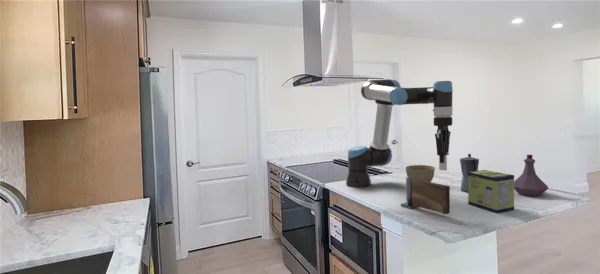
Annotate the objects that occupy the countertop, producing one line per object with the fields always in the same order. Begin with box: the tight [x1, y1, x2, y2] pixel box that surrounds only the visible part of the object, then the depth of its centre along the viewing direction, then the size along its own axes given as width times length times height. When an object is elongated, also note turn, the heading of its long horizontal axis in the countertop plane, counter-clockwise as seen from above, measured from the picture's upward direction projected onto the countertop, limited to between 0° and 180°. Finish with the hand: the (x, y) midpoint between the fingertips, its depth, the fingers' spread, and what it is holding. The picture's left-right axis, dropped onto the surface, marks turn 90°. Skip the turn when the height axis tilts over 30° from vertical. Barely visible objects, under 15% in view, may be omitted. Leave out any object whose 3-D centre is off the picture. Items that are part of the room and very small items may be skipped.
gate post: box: [400, 176, 420, 210], centre depth 154 cm, size 6×6×14 cm
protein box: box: [467, 169, 515, 214], centre depth 148 cm, size 10×16×16 cm
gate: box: [411, 179, 451, 215], centre depth 145 cm, size 3×18×12 cm, turn 30°
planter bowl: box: [405, 164, 436, 183], centre depth 194 cm, size 16×16×11 cm
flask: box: [514, 154, 549, 198], centre depth 166 cm, size 16×16×20 cm
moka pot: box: [459, 153, 480, 193], centre depth 176 cm, size 10×15×20 cm, turn 174°
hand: (442, 169), depth 146 cm, fingers closed
